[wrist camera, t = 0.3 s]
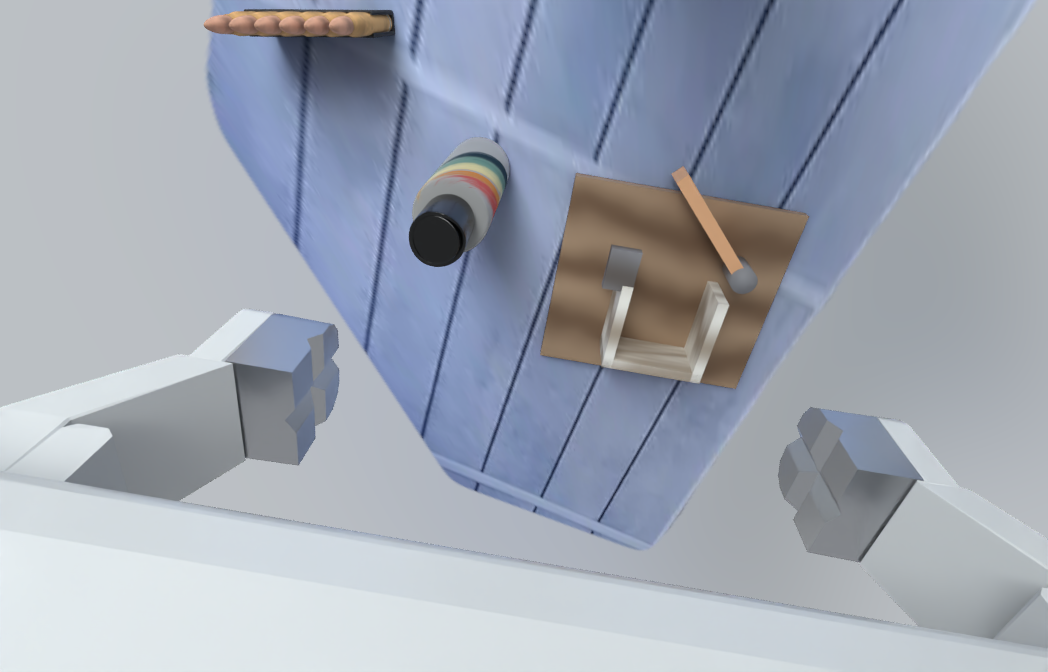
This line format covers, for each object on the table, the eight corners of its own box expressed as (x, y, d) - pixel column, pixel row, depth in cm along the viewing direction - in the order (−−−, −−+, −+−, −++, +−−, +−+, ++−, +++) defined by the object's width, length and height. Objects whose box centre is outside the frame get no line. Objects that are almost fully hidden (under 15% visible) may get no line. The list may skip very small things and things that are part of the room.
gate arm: (752, 270, 55) (762, 285, 52) (729, 282, 56) (737, 298, 53) (689, 162, 51) (696, 172, 48) (665, 177, 52) (670, 188, 48)
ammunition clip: (393, 10, 48) (342, 10, 37) (395, 35, 49) (346, 42, 38) (270, 9, 48) (187, 9, 38) (275, 33, 49) (195, 40, 39)
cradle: (576, 172, 53) (575, 190, 48) (805, 213, 53) (829, 235, 48) (540, 350, 63) (537, 380, 58) (733, 383, 64) (747, 416, 58)
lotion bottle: (489, 207, 56) (449, 298, 38) (440, 173, 54) (376, 250, 37) (522, 160, 53) (496, 234, 36) (471, 122, 52) (419, 180, 34)
